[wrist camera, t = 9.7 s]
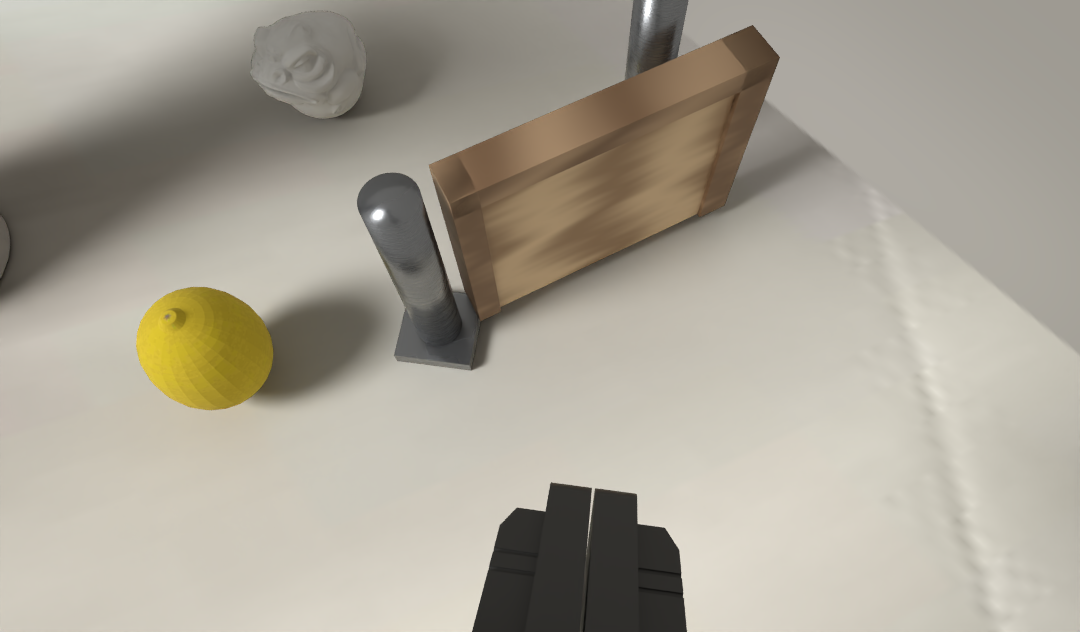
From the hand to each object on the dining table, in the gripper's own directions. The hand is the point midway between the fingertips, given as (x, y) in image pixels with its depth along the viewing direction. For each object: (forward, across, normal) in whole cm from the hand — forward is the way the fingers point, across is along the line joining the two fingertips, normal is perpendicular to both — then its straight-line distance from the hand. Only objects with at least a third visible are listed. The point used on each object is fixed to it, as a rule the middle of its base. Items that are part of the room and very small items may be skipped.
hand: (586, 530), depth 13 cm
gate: (+28, +1, +3) cm, 28 cm away
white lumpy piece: (+35, +18, -2) cm, 40 cm away
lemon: (+22, +18, +11) cm, 31 cm away
